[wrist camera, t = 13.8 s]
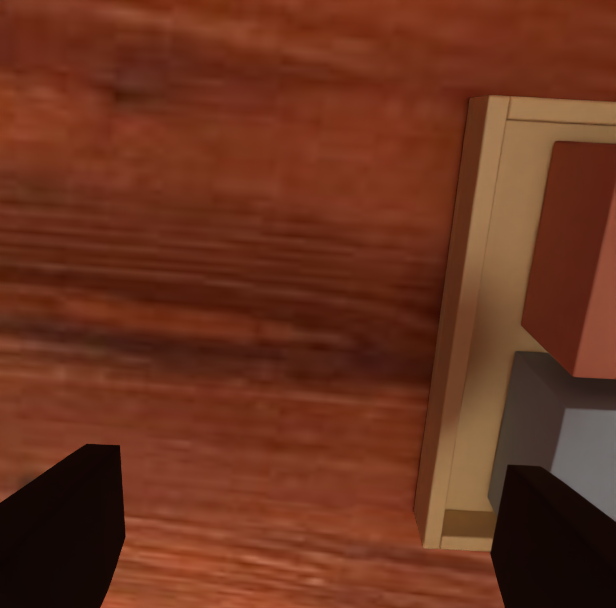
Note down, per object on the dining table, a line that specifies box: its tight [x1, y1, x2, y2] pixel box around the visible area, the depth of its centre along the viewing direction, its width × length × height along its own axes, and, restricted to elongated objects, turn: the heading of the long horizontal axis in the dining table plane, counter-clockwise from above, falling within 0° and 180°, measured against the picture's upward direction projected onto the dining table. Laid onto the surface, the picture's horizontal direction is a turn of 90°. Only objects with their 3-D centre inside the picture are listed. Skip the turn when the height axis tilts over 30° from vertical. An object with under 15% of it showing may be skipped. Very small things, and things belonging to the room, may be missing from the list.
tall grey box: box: [488, 351, 616, 522], centre depth 18 cm, size 4×6×4 cm, turn 177°
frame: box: [414, 95, 616, 552], centre depth 18 cm, size 9×15×2 cm, turn 177°
